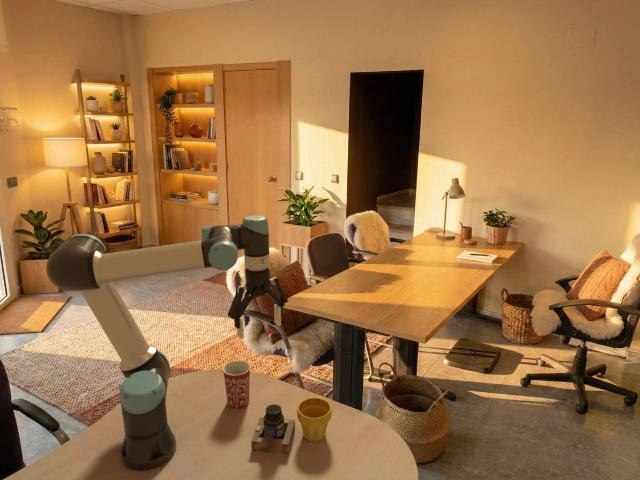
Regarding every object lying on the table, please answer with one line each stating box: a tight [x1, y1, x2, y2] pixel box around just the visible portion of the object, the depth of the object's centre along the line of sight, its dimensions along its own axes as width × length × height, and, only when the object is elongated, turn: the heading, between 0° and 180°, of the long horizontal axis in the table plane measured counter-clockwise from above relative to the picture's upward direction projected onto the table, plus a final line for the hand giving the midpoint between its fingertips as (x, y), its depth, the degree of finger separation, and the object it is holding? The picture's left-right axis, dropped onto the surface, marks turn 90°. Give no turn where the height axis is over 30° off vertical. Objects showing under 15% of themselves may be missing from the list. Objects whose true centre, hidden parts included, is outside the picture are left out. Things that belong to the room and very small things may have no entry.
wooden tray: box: [250, 416, 296, 455], centre depth 147 cm, size 11×11×4 cm
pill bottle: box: [263, 404, 285, 440], centre depth 146 cm, size 6×6×11 cm
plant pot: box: [296, 396, 333, 442], centre depth 148 cm, size 10×10×10 cm
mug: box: [222, 360, 252, 410], centre depth 165 cm, size 13×9×14 cm
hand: (259, 330), depth 154 cm, fingers open, 13 cm apart
